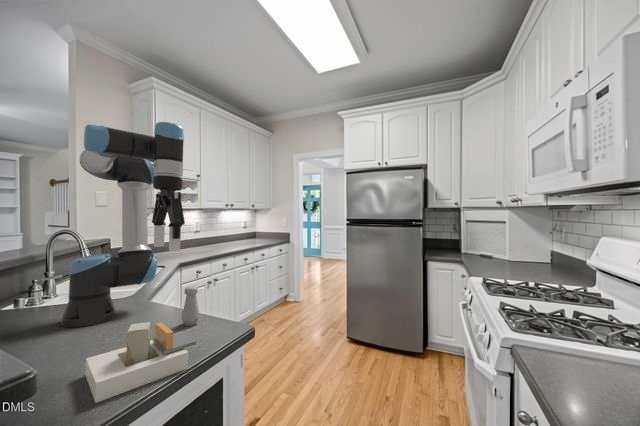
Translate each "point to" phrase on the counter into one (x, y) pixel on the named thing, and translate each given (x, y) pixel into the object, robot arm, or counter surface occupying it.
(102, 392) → the socket
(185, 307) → the salt shaker
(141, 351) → the box
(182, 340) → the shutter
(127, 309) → the counter surface
